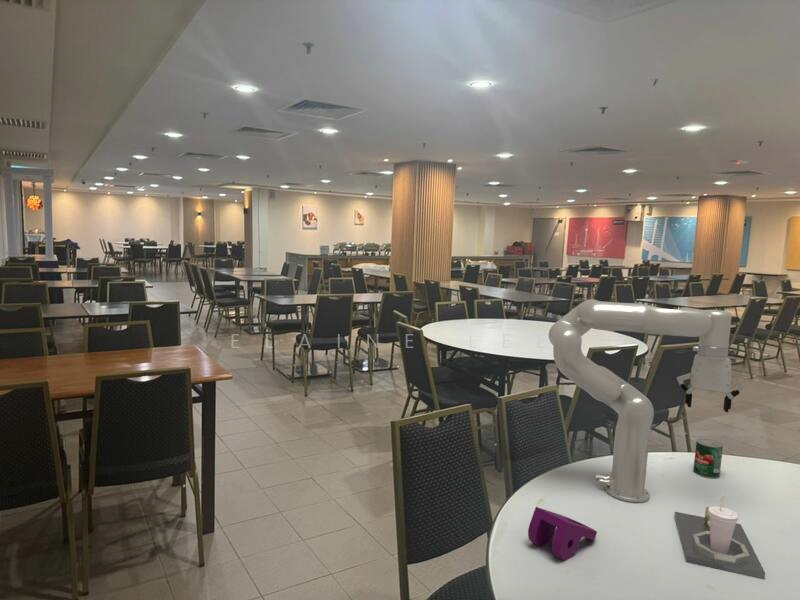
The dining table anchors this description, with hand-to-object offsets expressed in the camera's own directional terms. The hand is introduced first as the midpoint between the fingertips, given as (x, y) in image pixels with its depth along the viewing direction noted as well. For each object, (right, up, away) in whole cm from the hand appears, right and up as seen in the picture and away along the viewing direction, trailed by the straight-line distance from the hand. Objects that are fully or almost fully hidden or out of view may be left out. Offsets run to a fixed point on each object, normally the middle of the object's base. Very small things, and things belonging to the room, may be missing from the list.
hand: (707, 408), depth 159 cm
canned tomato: (+13, -27, +23) cm, 38 cm away
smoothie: (-13, -29, -28) cm, 42 cm away
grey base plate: (-11, -30, -22) cm, 39 cm away
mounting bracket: (-50, -29, -24) cm, 63 cm away
